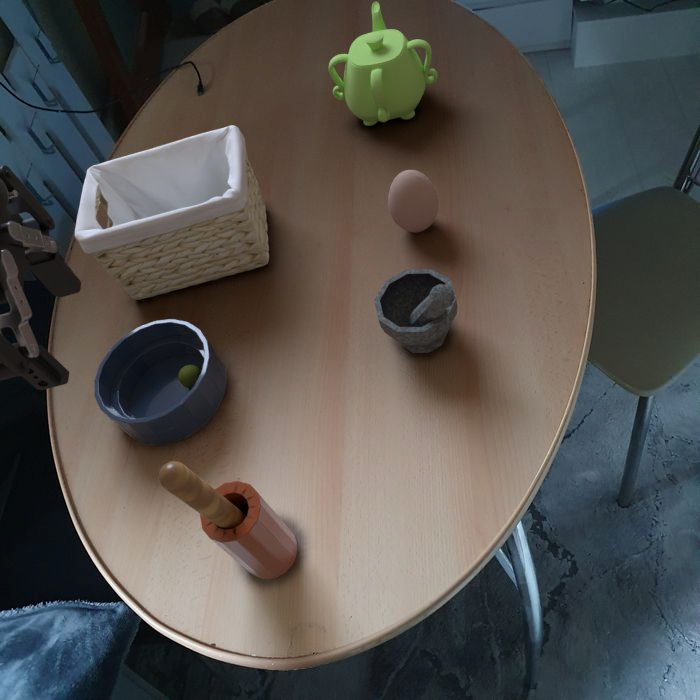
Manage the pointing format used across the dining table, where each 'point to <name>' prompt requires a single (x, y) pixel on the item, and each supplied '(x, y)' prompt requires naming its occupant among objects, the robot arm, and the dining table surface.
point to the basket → (175, 214)
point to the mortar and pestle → (417, 309)
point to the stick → (200, 495)
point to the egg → (413, 201)
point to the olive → (189, 375)
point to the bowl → (160, 382)
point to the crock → (254, 533)
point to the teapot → (383, 74)
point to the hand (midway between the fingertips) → (64, 334)
